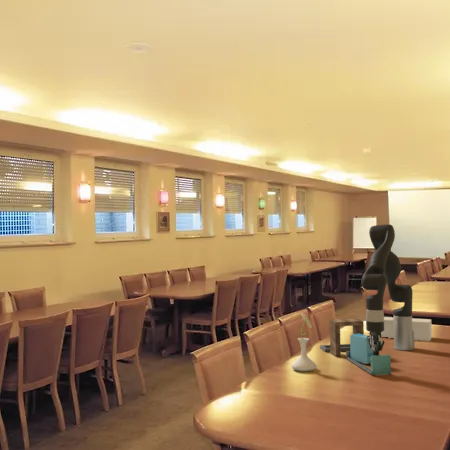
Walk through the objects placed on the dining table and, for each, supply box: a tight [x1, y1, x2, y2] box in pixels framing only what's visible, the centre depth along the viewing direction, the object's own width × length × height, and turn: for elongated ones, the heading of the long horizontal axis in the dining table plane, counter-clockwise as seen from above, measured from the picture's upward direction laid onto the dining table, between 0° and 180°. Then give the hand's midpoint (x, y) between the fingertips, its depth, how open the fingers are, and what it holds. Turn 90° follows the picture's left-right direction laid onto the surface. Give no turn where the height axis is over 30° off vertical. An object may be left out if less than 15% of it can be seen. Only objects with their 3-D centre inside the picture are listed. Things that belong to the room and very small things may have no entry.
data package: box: [349, 333, 373, 365], centre depth 238 cm, size 12×4×12 cm, turn 25°
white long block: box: [381, 316, 433, 342], centre depth 294 cm, size 32×11×11 cm, turn 63°
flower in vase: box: [290, 312, 318, 372], centre depth 228 cm, size 13×11×25 cm
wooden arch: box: [329, 318, 365, 358], centre depth 255 cm, size 15×8×17 cm, turn 98°
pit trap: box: [319, 343, 350, 353], centre depth 266 cm, size 18×8×2 cm, turn 98°
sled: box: [345, 351, 392, 376], centre depth 230 cm, size 8×30×8 cm, turn 8°
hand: (376, 359), depth 221 cm, fingers closed
